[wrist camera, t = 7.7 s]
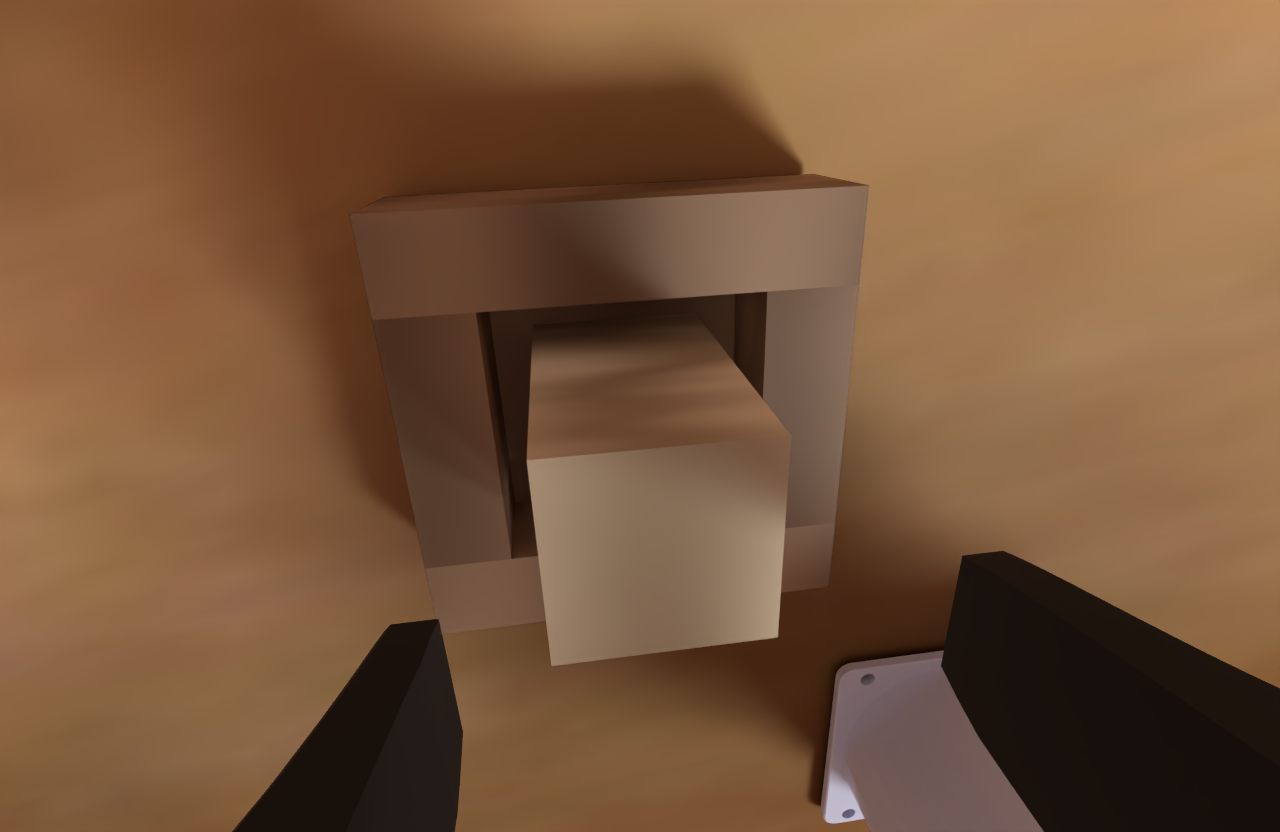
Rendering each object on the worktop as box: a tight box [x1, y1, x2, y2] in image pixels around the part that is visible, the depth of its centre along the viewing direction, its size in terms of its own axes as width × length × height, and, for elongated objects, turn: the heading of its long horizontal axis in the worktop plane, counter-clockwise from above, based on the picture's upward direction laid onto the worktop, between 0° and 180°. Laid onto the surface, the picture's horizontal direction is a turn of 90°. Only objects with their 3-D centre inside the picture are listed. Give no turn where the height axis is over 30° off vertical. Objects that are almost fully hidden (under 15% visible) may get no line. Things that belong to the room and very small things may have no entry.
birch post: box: [527, 313, 791, 666], centre depth 14 cm, size 4×4×7 cm
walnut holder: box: [349, 174, 869, 634], centre depth 16 cm, size 10×10×3 cm
